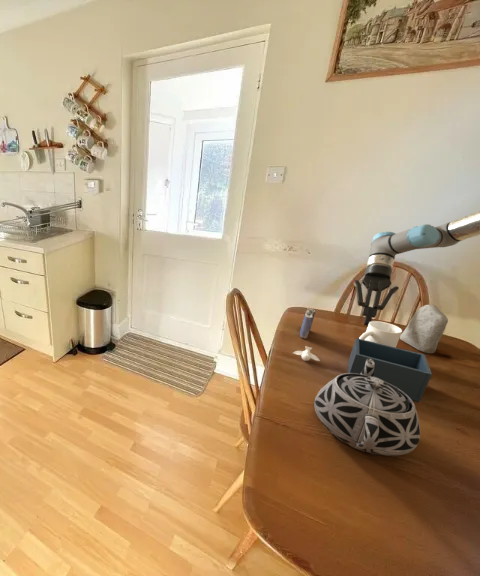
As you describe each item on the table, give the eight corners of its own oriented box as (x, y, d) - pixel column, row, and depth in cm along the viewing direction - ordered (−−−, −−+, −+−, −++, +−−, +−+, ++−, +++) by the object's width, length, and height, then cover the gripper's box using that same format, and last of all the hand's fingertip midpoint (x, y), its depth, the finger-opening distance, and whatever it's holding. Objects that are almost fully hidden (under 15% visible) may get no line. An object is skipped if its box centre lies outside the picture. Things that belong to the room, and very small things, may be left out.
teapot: (403, 409, 82) (424, 361, 76) (421, 502, 59) (452, 443, 54) (316, 381, 93) (329, 337, 87) (303, 451, 70) (320, 397, 65)
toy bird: (290, 357, 103) (294, 343, 103) (291, 355, 107) (295, 342, 107) (319, 366, 98) (323, 352, 98) (319, 364, 102) (323, 350, 102)
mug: (364, 362, 101) (374, 334, 98) (343, 348, 109) (352, 322, 105) (398, 359, 102) (409, 332, 99) (375, 346, 110) (384, 320, 106)
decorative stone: (439, 355, 105) (457, 315, 99) (418, 353, 105) (435, 314, 100) (413, 338, 115) (429, 301, 109) (395, 337, 115) (409, 300, 110)
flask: (306, 339, 115) (313, 313, 111) (297, 337, 116) (304, 311, 113) (310, 330, 121) (317, 305, 117) (301, 328, 123) (308, 303, 119)
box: (413, 380, 93) (424, 354, 89) (419, 402, 84) (432, 374, 81) (348, 361, 102) (355, 337, 98) (347, 380, 93) (355, 354, 90)
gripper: (359, 261, 120) (346, 315, 114) (405, 267, 113) (394, 325, 107) (355, 270, 126) (343, 323, 120) (398, 277, 119) (387, 332, 113)
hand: (367, 324), depth 113 cm, fingers closed
